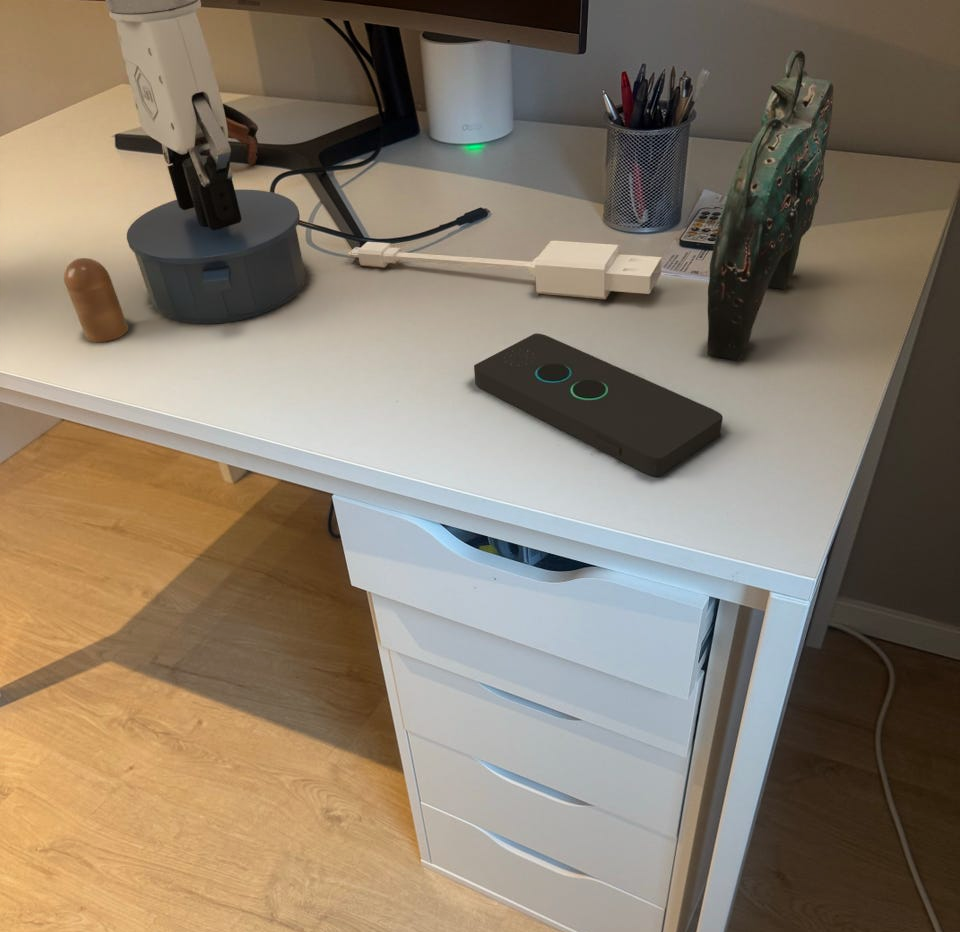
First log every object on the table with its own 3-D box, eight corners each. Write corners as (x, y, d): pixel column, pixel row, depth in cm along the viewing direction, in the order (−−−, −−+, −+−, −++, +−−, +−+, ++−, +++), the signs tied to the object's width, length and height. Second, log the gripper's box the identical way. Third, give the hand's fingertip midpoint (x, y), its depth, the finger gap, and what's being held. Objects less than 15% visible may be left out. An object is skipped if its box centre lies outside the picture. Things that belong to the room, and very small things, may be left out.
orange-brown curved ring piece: (196, 156, 122) (213, 93, 118) (258, 192, 123) (277, 131, 119) (150, 162, 112) (167, 93, 108) (218, 202, 113) (237, 135, 109)
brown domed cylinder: (83, 345, 85) (54, 272, 80) (88, 325, 88) (59, 254, 83) (126, 338, 86) (100, 265, 81) (129, 319, 88) (104, 247, 83)
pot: (146, 347, 84) (124, 285, 80) (157, 256, 99) (139, 200, 94) (312, 322, 86) (300, 260, 82) (299, 236, 100) (287, 180, 96)
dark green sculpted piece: (750, 262, 89) (788, 22, 75) (817, 272, 87) (869, 27, 72) (684, 356, 77) (715, 93, 63) (759, 371, 75) (809, 101, 61)
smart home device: (538, 329, 79) (728, 412, 68) (539, 347, 80) (724, 432, 69) (468, 365, 75) (656, 460, 64) (470, 384, 76) (654, 480, 65)
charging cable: (365, 258, 97) (359, 226, 95) (661, 281, 86) (663, 246, 84) (343, 278, 94) (336, 246, 92) (647, 304, 83) (649, 268, 81)
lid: (124, 282, 82) (97, 205, 77) (135, 214, 93) (113, 143, 88) (306, 256, 84) (291, 179, 79) (295, 192, 95) (282, 122, 90)
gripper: (71, -15, 78) (140, 202, 91) (147, 15, 68) (212, 254, 81) (153, -31, 81) (208, 182, 94) (237, -4, 71) (286, 230, 84)
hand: (210, 213), depth 87 cm, fingers open, 6 cm apart
